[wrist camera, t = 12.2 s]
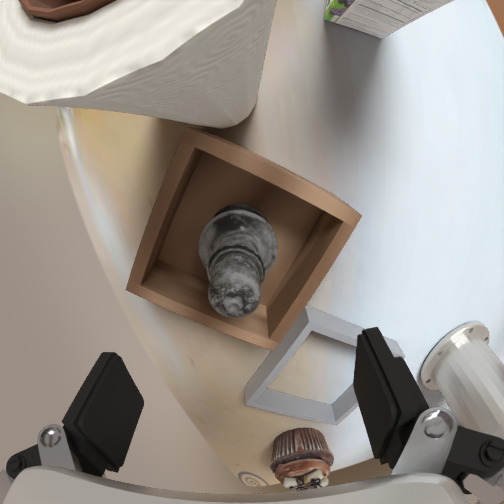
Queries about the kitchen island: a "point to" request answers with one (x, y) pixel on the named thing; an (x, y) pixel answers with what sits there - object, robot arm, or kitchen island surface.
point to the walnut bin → (203, 210)
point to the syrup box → (379, 14)
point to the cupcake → (301, 459)
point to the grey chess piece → (237, 258)
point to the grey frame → (282, 354)
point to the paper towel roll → (137, 56)
